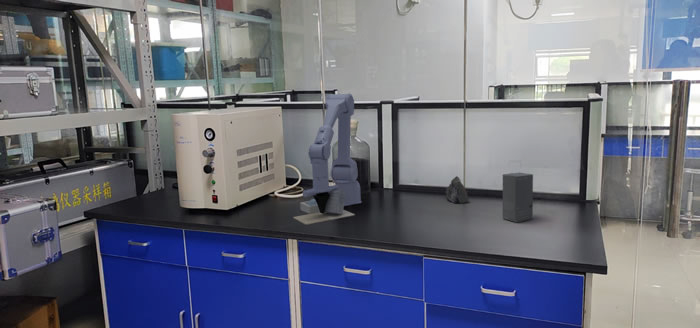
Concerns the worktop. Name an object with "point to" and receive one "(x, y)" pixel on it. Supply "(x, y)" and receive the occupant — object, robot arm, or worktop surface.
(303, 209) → the button box
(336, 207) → the medicine box
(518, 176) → the skincare box
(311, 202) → the dome button
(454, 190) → the mineral rock
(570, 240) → the worktop surface
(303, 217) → the cream flat sheet
